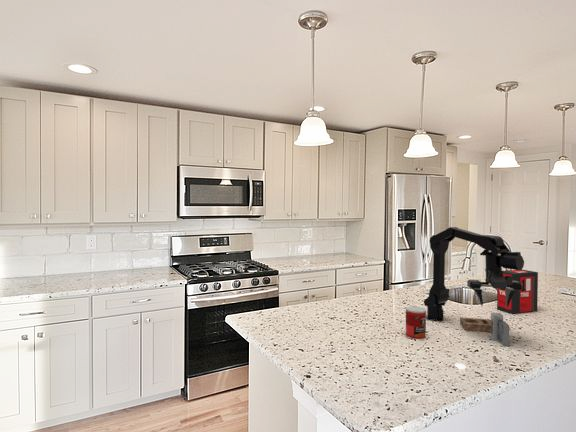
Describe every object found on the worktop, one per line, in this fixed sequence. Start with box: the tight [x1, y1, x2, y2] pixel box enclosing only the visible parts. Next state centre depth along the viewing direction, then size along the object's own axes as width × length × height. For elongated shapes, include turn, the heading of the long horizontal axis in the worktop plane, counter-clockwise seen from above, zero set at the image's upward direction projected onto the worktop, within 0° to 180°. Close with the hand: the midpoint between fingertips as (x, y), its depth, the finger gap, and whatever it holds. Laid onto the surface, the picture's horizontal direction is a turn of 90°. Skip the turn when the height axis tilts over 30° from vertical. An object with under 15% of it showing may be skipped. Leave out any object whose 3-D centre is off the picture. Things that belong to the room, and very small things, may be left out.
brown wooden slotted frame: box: [459, 317, 491, 333], centre depth 156 cm, size 12×9×3 cm
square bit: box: [489, 312, 504, 341], centre depth 144 cm, size 4×4×10 cm
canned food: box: [405, 305, 427, 340], centre depth 147 cm, size 8×8×11 cm
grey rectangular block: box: [497, 320, 510, 347], centre depth 138 cm, size 2×5×8 cm, turn 166°
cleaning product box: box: [496, 269, 539, 316], centre depth 184 cm, size 16×9×20 cm, turn 108°
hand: (494, 306), depth 145 cm, fingers open, 9 cm apart
